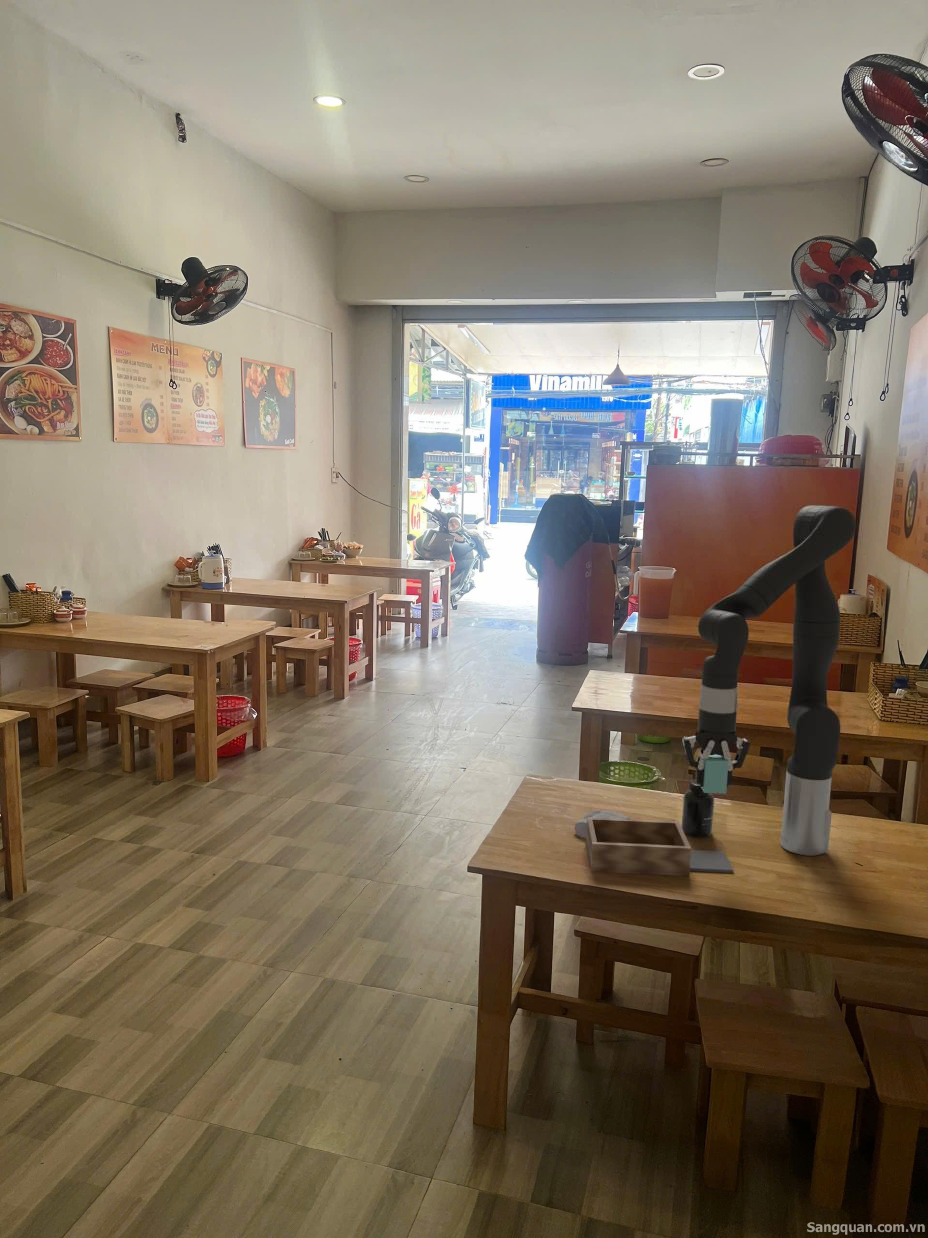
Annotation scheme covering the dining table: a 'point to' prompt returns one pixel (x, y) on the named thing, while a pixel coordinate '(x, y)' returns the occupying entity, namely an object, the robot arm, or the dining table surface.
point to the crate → (637, 846)
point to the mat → (710, 861)
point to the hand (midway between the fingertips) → (712, 785)
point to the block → (715, 775)
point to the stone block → (582, 824)
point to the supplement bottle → (697, 811)
